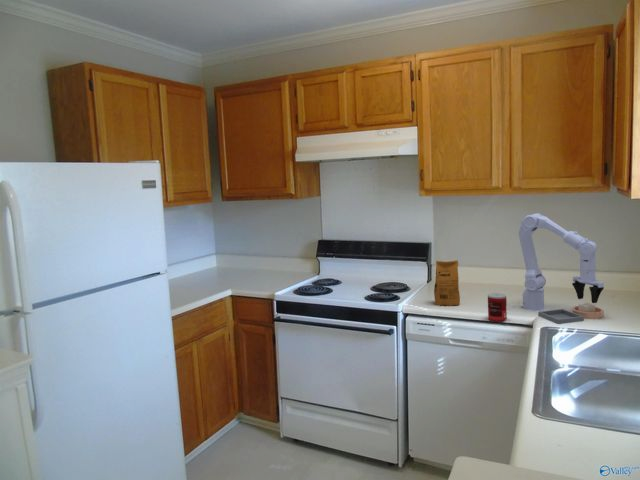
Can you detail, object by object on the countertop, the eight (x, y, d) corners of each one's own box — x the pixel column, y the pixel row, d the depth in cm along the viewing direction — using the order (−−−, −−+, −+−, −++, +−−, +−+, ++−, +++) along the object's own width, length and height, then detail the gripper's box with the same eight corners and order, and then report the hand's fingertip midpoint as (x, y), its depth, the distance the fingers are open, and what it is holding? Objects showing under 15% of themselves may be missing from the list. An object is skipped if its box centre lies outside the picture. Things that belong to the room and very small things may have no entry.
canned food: (502, 316, 215) (501, 292, 214) (509, 321, 207) (509, 296, 206) (485, 317, 215) (484, 293, 214) (492, 322, 207) (491, 297, 206)
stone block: (578, 314, 209) (578, 304, 208) (587, 313, 210) (587, 303, 210) (585, 316, 205) (585, 306, 205) (595, 315, 206) (595, 305, 206)
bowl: (566, 314, 212) (566, 307, 212) (589, 311, 215) (589, 304, 214) (585, 321, 201) (585, 314, 201) (609, 318, 203) (609, 311, 203)
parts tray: (538, 317, 211) (538, 311, 211) (562, 314, 213) (562, 308, 213) (558, 325, 198) (558, 319, 198) (584, 322, 200) (584, 316, 200)
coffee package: (434, 301, 248) (433, 259, 246) (459, 301, 245) (458, 258, 243) (434, 306, 239) (432, 262, 236) (460, 306, 236) (459, 262, 233)
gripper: (567, 267, 211) (566, 298, 213) (593, 273, 197) (593, 305, 199) (580, 266, 213) (580, 296, 215) (607, 271, 199) (607, 303, 201)
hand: (587, 300), depth 207 cm, fingers open, 7 cm apart
